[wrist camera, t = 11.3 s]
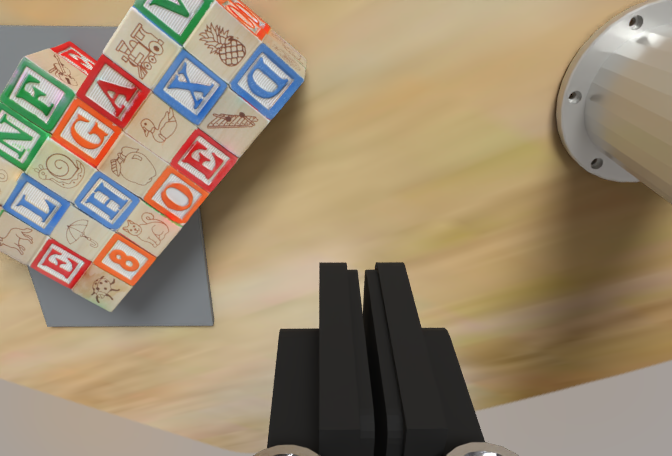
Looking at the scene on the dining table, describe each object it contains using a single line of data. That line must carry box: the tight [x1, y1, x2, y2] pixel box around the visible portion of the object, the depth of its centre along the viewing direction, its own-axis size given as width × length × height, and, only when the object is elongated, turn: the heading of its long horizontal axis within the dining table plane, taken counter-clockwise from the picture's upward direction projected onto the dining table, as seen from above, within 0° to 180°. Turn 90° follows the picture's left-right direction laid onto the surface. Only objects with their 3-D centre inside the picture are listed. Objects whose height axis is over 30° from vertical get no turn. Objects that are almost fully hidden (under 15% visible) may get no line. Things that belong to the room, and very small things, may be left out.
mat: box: [0, 25, 214, 327], centre depth 38 cm, size 14×24×1 cm, turn 179°
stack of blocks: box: [0, 0, 307, 312], centre depth 32 cm, size 21×6×12 cm
